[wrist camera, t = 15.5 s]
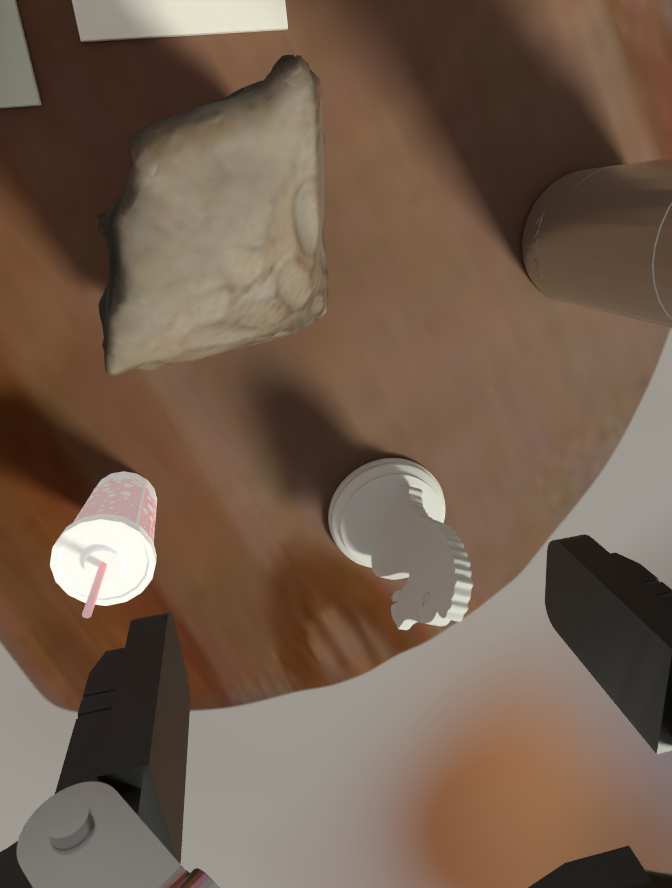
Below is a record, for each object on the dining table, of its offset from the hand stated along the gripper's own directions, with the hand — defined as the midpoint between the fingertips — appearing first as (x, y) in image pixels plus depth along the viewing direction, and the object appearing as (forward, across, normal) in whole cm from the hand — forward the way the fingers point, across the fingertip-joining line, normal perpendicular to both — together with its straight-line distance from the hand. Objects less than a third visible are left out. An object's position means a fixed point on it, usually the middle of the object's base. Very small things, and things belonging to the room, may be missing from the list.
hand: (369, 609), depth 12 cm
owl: (+32, +1, -5) cm, 33 cm away
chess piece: (+32, -8, +16) cm, 37 cm away
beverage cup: (+32, +12, +11) cm, 36 cm away
